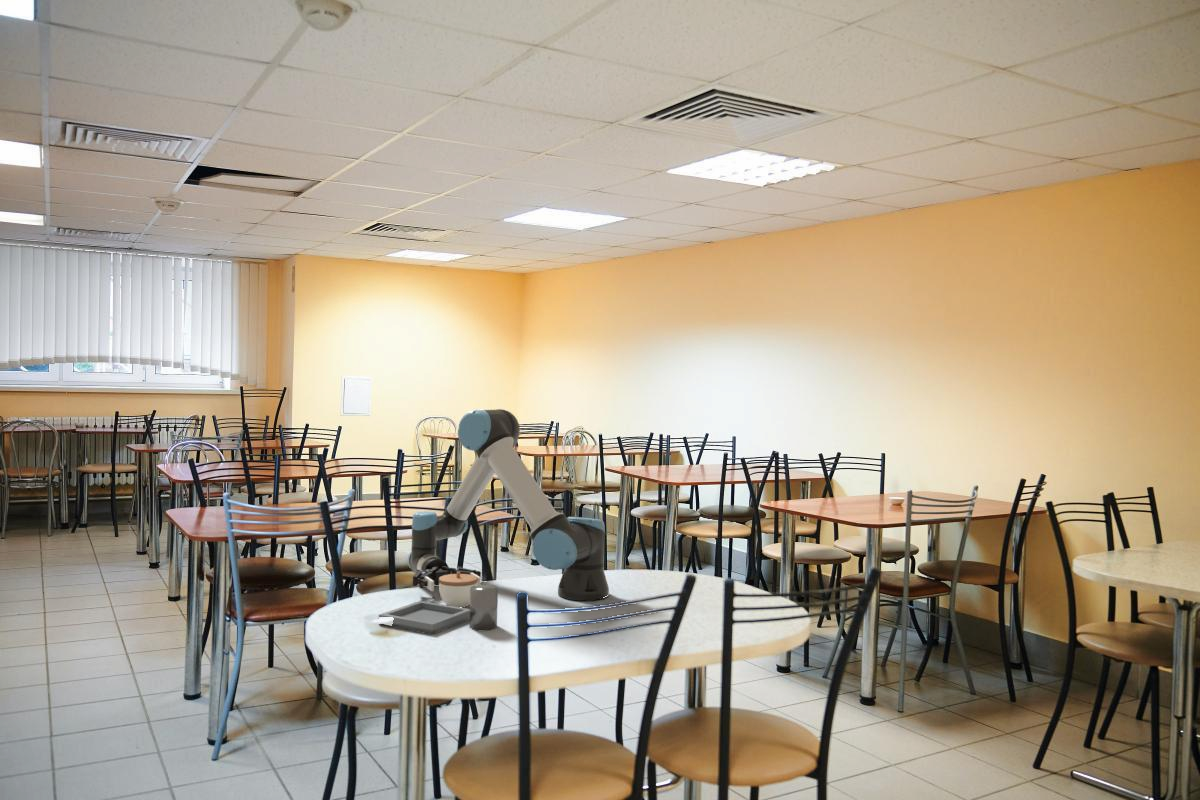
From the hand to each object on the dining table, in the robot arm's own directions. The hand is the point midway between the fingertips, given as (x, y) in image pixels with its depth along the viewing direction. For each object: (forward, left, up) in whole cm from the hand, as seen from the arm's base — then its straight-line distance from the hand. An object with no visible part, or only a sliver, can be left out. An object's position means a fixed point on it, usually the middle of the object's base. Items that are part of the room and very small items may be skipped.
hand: (456, 584), depth 245 cm
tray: (-4, +18, -6) cm, 19 cm away
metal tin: (-19, +14, -6) cm, 24 cm away
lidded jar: (-1, 0, -6) cm, 6 cm away
